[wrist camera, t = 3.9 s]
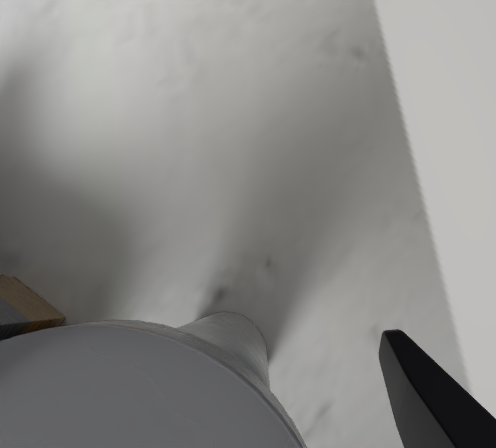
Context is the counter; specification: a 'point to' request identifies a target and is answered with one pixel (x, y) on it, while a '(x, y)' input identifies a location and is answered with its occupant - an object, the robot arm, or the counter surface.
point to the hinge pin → (141, 387)
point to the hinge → (23, 310)
